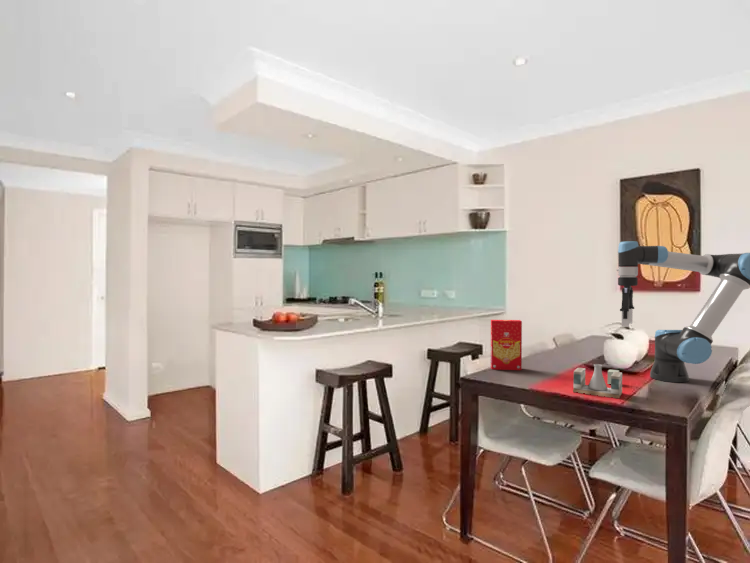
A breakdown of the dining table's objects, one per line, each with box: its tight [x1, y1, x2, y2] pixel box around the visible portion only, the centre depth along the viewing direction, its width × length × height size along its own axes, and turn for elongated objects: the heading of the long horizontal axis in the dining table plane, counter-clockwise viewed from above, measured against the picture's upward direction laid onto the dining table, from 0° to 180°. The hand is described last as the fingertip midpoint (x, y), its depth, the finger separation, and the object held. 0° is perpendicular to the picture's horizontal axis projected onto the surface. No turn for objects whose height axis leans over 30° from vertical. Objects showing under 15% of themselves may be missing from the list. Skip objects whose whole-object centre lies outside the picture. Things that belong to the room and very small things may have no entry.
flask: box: [587, 363, 608, 390], centre depth 188 cm, size 7×7×10 cm
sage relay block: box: [606, 369, 620, 385], centre depth 202 cm, size 4×5×6 cm
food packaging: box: [490, 319, 523, 371], centre depth 233 cm, size 15×5×25 cm, turn 82°
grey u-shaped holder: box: [572, 367, 623, 399], centre depth 188 cm, size 17×10×9 cm, turn 55°
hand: (627, 325), depth 199 cm, fingers open, 13 cm apart
